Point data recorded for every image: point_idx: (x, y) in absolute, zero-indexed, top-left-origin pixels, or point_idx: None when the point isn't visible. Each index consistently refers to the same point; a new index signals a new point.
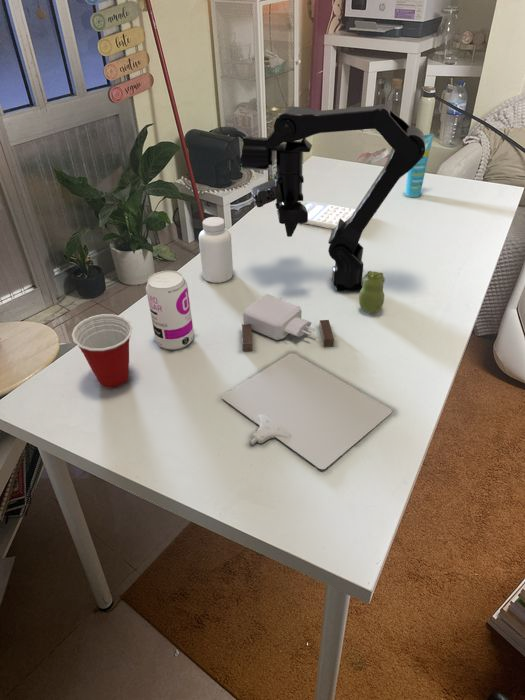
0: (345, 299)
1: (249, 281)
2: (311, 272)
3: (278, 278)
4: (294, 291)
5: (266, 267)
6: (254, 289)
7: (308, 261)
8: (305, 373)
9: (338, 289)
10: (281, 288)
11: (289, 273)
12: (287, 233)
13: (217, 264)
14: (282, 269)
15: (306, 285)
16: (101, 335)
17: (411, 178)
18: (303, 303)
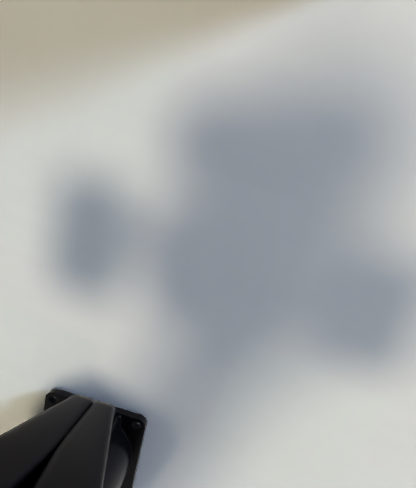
0: (3, 389)
1: (254, 53)
2: (230, 367)
3: (230, 213)
4: (98, 241)
5: (367, 190)
6: (165, 60)
7: (333, 397)
8: None
9: (59, 399)
10: (137, 196)
11: (257, 278)
12: (33, 424)
13: None
14: (309, 261)
15: (131, 306)
16: None
17: None
18: (3, 242)
